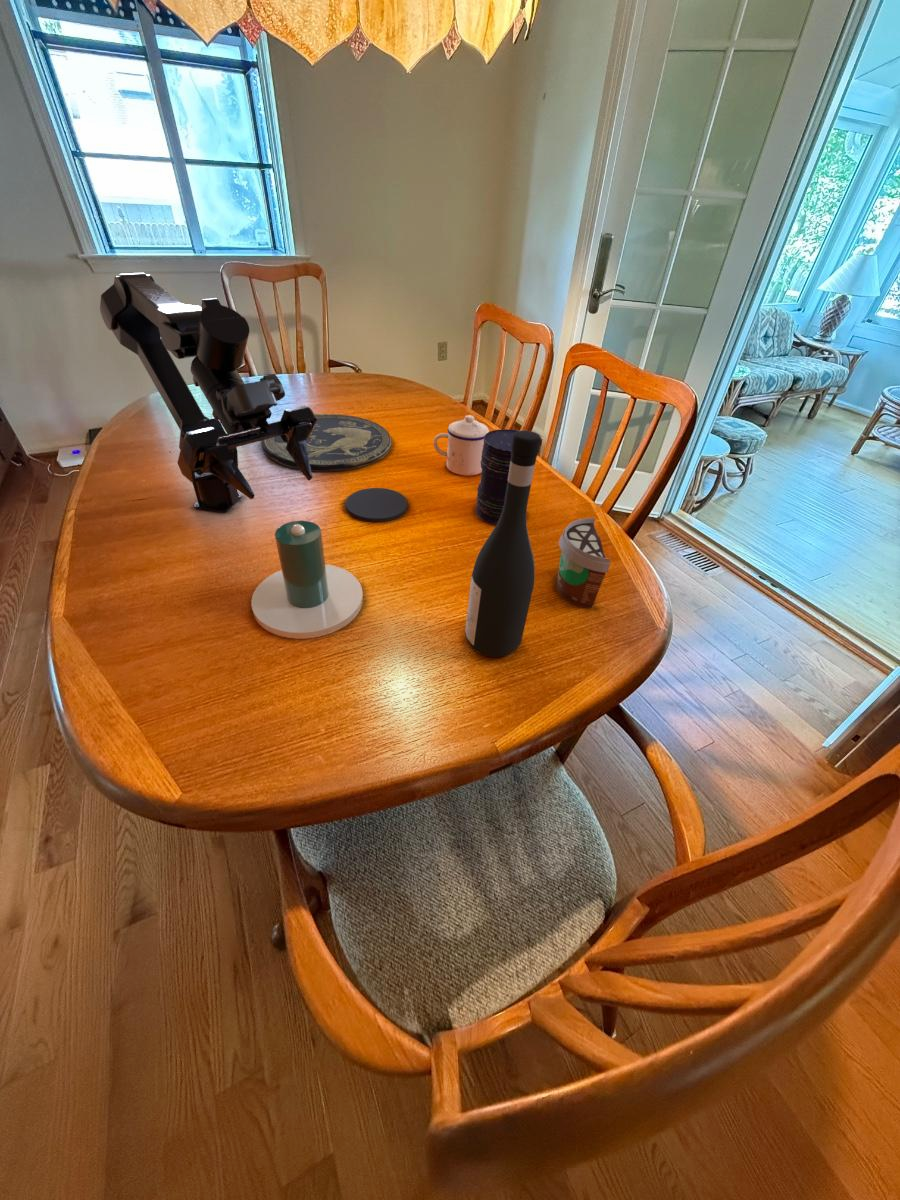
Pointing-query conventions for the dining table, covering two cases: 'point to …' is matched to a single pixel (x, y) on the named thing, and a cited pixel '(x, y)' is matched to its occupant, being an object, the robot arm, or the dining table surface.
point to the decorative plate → (336, 444)
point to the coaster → (376, 505)
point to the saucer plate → (307, 622)
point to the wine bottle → (505, 563)
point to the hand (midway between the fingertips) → (282, 487)
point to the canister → (302, 563)
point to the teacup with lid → (464, 446)
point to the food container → (581, 563)
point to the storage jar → (494, 474)
